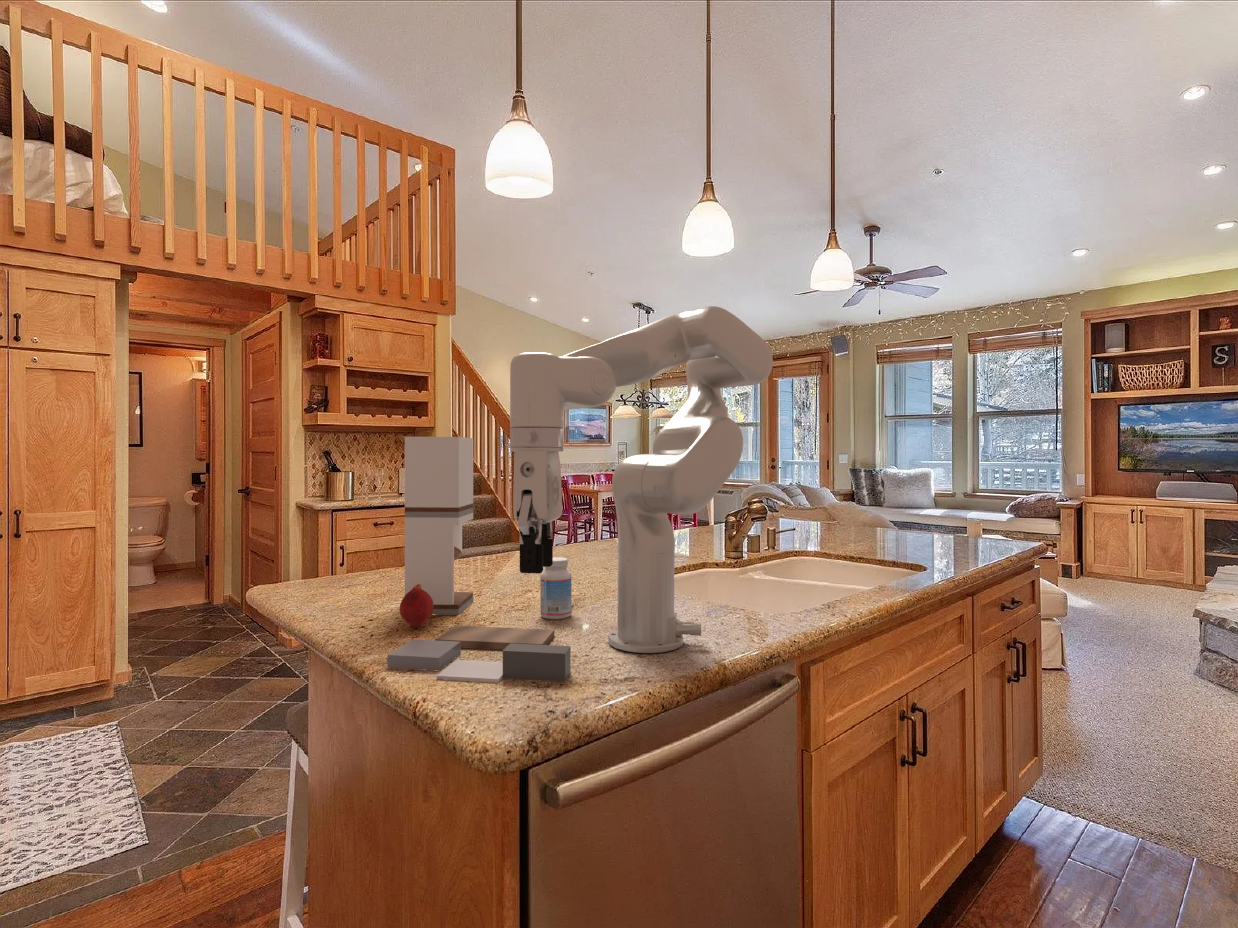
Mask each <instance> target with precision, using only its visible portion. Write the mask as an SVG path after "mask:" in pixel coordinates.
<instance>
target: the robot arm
mask: <svg viewBox="0 0 1238 928" xmlns="http://www.w3.org/2000/svg"><path fill="white" fill-rule="evenodd" d="M685 363H686V366H685V367H686V368H685V373H686V381H687V383H686V385H687V398H686V400H685V402H684V404H683V405H682V406H681V407H680V408H679V409H678V410H677V411H676V412H675V413H674V414H673V415H672V416H671V418H670V419H669V420H668V421H667V422H666V423H665V424H664V425H663V426H662V428H660V430H659V431H658V433H657V434H656V436H655V438H654V440H653V444H652V453H643V454H634V455H630V456H627V457H626V458H624V459H623V460H621V461H620V462H619V463H618V464H617V466H616V467H615V469H614V471H613V474H612V480H611V481H612V482H611V488H612V495H613V501H614V505H615V512H616V521H617V629H614V630H612V631H611V632H610V633H609V634H608V637H607V640H608V641H607V642H608V644H609V645H610V646H611V647H613V648H615V649H617V650H621V651H625V652H629V653H635V654H636V653H637V654H659V653H666V652H671V651H674V650H677V649H679V648H681V647H682V646H683V644H684V635H688V636H694V637H695V636H699V637H701V636H702V623H695V621H693V620H692V621H690V620H687V621H684V620H682V621H681V619H679V618H677V617H678V615H677V614H678V612H675V563H676V562H675V556H676V555H675V551H676V550H675V549H676V548H675V547H676V546H675V545H676V544H675V543H676V542H675V534H674V533H675V532H674V529H673V527H672V523H671V521H670V519H669V517H668V514H671V515H672V514H673V515H693V514H696V513H699V512H701V511H702V510H703V509H704V508H706V507H707V505H709V503H710V502H711V501H712V499H714V497H715V496H716V495H717V493H718V492H719V491H720V489H722V487H723V486H724V485H725V483H726V482H727V480H728V479H729V478H730V476H731V475H732V473H734V471H735V470H736V468H737V467H738V465H739V463H740V460H741V457H742V454H743V448H744V437H743V433H742V430H741V428H740V427H739V425H738V424H737V422H735V421H734V419H732V418H730V417H729V412H728V408H727V405H726V403H725V401H724V400H723V397H722V394H721V389H727V388H735V387H746V386H755V385H758V384H761V383H763V382H764V381H766V380H767V379H768V377H770V374H771V373H772V370H773V363H774V359H773V355H772V351H771V349H770V347H769V345H768V344H767V342H766V340H764V338H762V337H761V336H760V334H758V333H757V332H755V331H754V330H753V329H752V328H751V327H750V326H748V325H747V323H745V322H744V321H743V320H741V319H740V318H739V317H737V316H736V315H735V314H733V313H732V312H730V311H728V310H727V309H725V308H723V307H719V306H716V305H715V306H714V305H710V306H705V307H701V308H696V309H692V310H686V311H681V312H676V313H673V314H671V315H670V314H669V315H668V316H665V317H662V318H661V319H660V318H659V319H657V320H655V321H653V322H650V323H648V324H645V325H643V326H640V327H638V328H636V329H633V330H629V331H627V332H625V333H622V334H619V335H616V336H613V337H610V338H608V339H605V340H604V341H601V342H599V343H596V344H593V345H590V346H587V347H585V348H581V349H579V350H575V351H573V352H570V353H567V354H564V355H563V356H558V355H556V354H553V353H548V352H535V351H534V352H522V353H519V354H516V355H514V356H513V358H512V359H511V362H510V367H509V368H510V369H509V370H510V371H509V372H510V373H509V383H510V384H509V386H510V387H509V390H510V391H509V392H510V393H509V398H510V400H509V403H510V404H509V405H510V407H509V409H510V410H509V413H510V414H509V427H510V428H509V430H510V431H509V440H510V441H509V447H510V448H509V452H515V456H514V465H513V467H514V469H513V483H512V485H513V491H512V493H513V494H512V502H513V504H512V506H513V509H512V511H513V512H512V513H513V519H515V521H516V522H517V526H518V529H519V539H518V540H519V541H518V542H519V543H518V544H519V572H520V573H521V574H540V575H541V573H542V572H543V571H544V568H545V567H550V566H552V564H553V557H554V556H553V553H554V552H553V549H554V547H553V545H554V544H553V542H554V541H553V537H554V536H553V532H554V531H553V522H555V520H557V519H559V518H561V516H562V515H563V495H562V493H563V491H562V490H563V487H562V471H561V469H562V468H561V460H560V454H559V453H560V452H564V411H565V410H579V409H580V410H581V409H583V410H584V409H592V408H597V407H600V406H603V405H604V404H606V403H607V402H608V401H610V400H611V399H612V397H613V395H614V394H615V392H616V390H617V389H616V388H618V387H626V386H627V387H628V386H631V385H636V384H639V383H643V382H647V381H649V380H652V379H654V378H656V377H659V375H662V374H663V373H665V372H668V371H670V370H671V369H674V368H676V367H678V366H681V365H682V364H685Z"/></svg>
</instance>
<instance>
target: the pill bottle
mask: <svg viewBox="0 0 1238 928" xmlns="http://www.w3.org/2000/svg"><path fill="white" fill-rule="evenodd" d="M568 560H569V559H568V558H566V557H563V556H562V557H561V556H559V557H554V556H553V564H552V566H550V567H544V568H545V569H543V572H542V573H540V579H539V581H540V582H539V583H540V585H539V586H540V590H539V591H540V592H539V593H540V604H539V605H540V616H541V618H543V619H546V620H563V619H567V618H569V617H571V616H572V612H573V611H572V609H573V608H572V605H573V602H572V601H573V600H572V597H573V595H572V572H571V571H570V570H568V569H567V567H568V565H569V563H568V562H569V561H568Z"/></svg>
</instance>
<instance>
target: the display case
mask: <svg viewBox="0 0 1238 928" xmlns="http://www.w3.org/2000/svg"><path fill="white" fill-rule="evenodd" d="M472 520H474V438H473V437H465V436H464V437H463V436H404V596H405V595H406V594H407V593H408V592H409V591H411V590H412V589H413V587H414V586H415V584H418V583H419V584H420V585H421V589H422V590H424V591H426V592H427V593H428V594H429V595H430V596H431V598H432V600H433V604H434V608H433V612H432V614H436V615H435V616H459V615H461V614H462V613H463V612H462V611H463V610H464V609H465V608H466V607H467V606H468V605H469V604H470V603H471V604H473V602H474V591H464V592H463V591H455V561H456V560H458V559H459V558H461V557H462V555H463V524H464V523H467V522H469V521H472ZM471 604H470V605H471ZM470 605H469V606H470ZM469 606H468V607H469ZM468 607H467V608H468ZM467 608H466V609H467ZM466 609H465V610H466ZM465 610H464V611H465ZM432 614H431V616H432ZM437 614H438V615H437ZM439 614H440V615H439ZM441 614H442V615H441Z"/></svg>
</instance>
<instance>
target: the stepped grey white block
mask: <svg viewBox="0 0 1238 928" xmlns="http://www.w3.org/2000/svg"><path fill="white" fill-rule="evenodd" d="M571 649H572V647H571V645H555V644H548V645H535V644H513V643H510V644H509V645H508V646H507V647H506V648H505V649H504V650H502V661H487V660H485V661H484V660H470V659H469V660H468V659H465V660H464V659H454V661H452V663H449V665H448V666H447V667H446V668H445V667H444V669H443V670H441V672H439V673H438V674H437V675H436V680H437V679H447V680H446V681H455V680H456V682H477V683H496V684H499V683H500V682H501V681H502V680H503V679H508V680H524V681H525V680H526V681H527V680H528V681H541V682H542V681H544V682H545V681H546V682H559V683H560V682H561V683H565V682H566V681H567V680H568V678H569V676H570V674H571V656H572V655H571V651H572V650H571Z"/></svg>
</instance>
